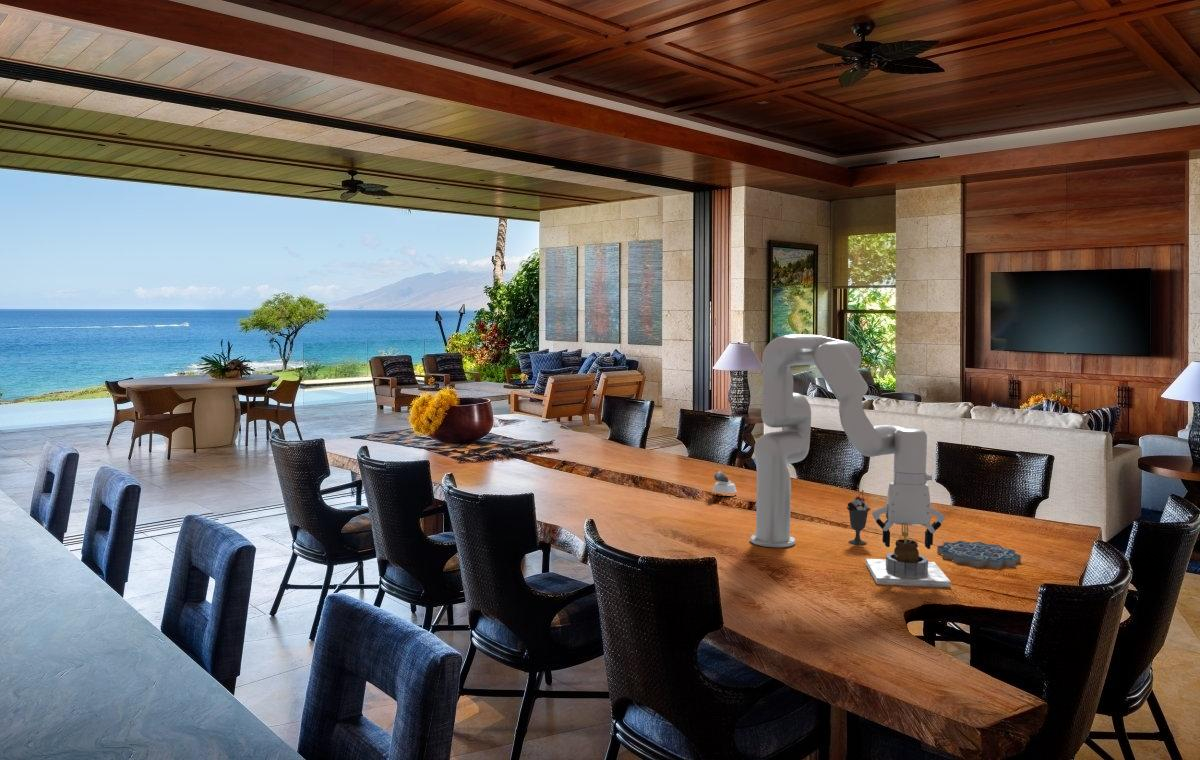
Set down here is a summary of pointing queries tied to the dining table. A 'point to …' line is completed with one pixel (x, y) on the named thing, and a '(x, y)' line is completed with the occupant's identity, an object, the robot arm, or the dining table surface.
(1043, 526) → the dining table surface
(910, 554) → the utensil holder
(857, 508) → the sundae
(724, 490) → the inkwell
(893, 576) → the collar stand
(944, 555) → the decorative tile
